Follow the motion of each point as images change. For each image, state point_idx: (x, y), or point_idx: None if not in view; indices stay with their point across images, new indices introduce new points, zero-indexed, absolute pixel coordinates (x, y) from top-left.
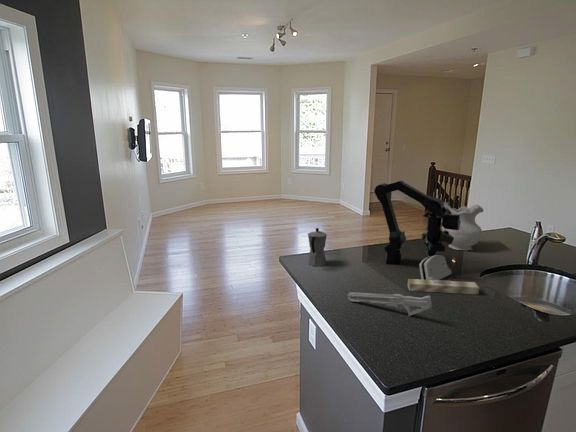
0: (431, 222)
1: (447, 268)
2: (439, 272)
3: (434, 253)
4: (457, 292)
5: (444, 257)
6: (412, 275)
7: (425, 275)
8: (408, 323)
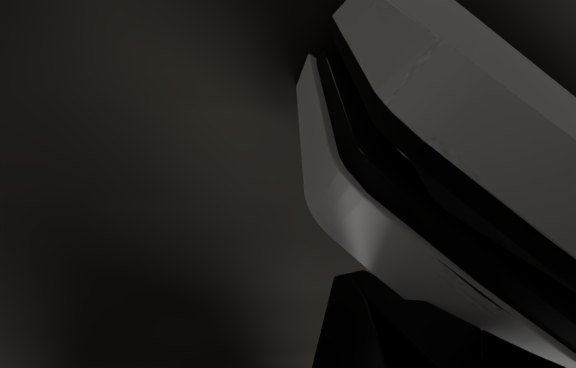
0: None
1: (396, 2)
2: (570, 131)
3: (501, 357)
4: None
5: (443, 42)
6: None
7: None
8: None
